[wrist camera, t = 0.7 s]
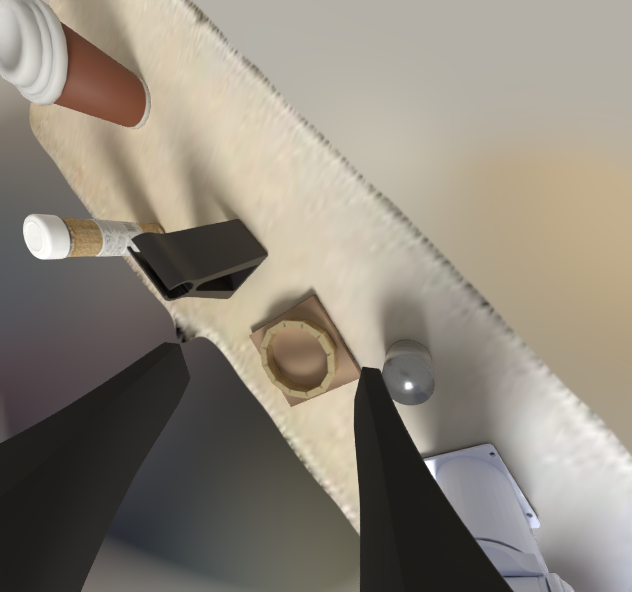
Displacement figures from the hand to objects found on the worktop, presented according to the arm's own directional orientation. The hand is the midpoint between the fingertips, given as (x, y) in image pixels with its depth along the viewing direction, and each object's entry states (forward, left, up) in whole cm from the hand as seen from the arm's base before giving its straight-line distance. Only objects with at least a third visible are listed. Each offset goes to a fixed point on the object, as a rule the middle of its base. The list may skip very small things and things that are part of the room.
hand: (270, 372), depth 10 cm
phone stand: (+12, +13, -20) cm, 27 cm away
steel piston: (-9, 0, -20) cm, 22 cm away
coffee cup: (+38, +14, -20) cm, 45 cm away
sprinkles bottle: (+22, +23, -20) cm, 38 cm away
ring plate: (-3, +11, -20) cm, 23 cm away
